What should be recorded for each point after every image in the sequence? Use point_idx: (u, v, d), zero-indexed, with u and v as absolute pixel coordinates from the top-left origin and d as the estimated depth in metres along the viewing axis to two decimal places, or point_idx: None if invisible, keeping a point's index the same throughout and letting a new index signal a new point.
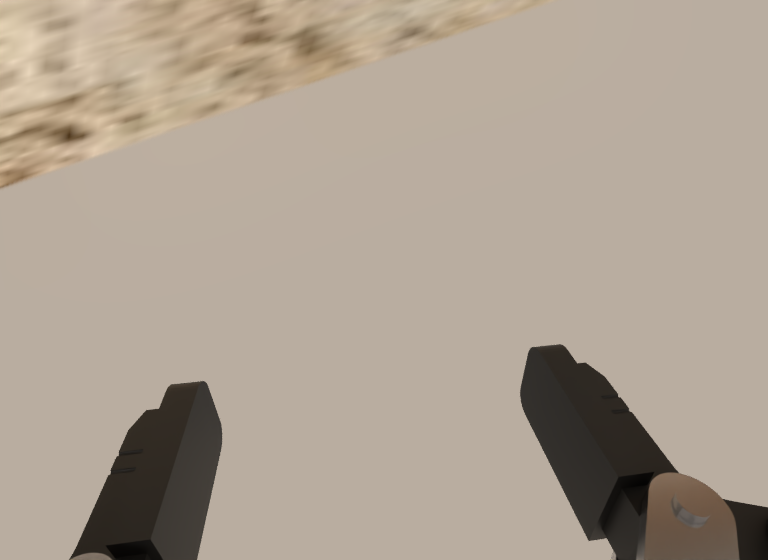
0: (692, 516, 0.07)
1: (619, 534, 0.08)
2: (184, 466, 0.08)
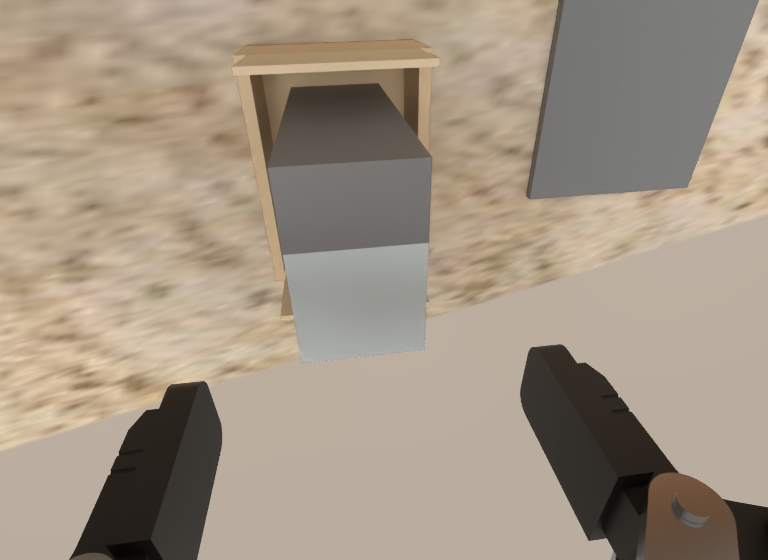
0: (692, 516, 0.07)
1: (619, 534, 0.08)
2: (184, 466, 0.08)
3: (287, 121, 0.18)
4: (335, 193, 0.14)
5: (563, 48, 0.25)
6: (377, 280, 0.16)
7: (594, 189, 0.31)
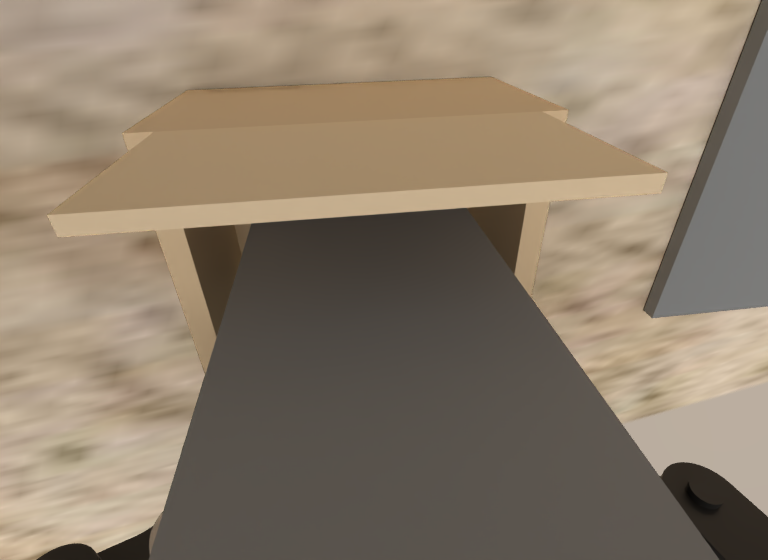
0: None
1: None
2: None
3: (236, 329, 0.07)
4: None
5: (755, 91, 0.14)
6: None
7: (752, 301, 0.19)
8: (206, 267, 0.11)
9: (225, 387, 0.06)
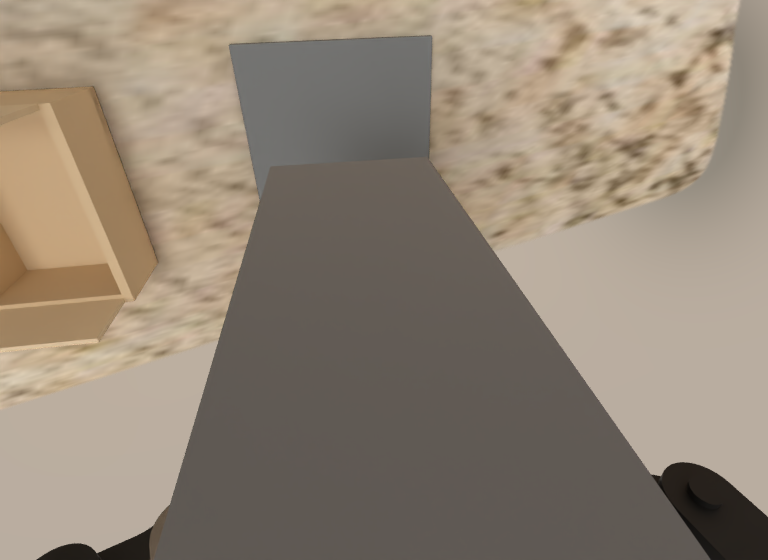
0: None
1: None
2: None
3: (237, 335, 0.07)
4: None
5: (246, 93, 0.26)
6: None
7: None
8: None
9: (227, 393, 0.06)
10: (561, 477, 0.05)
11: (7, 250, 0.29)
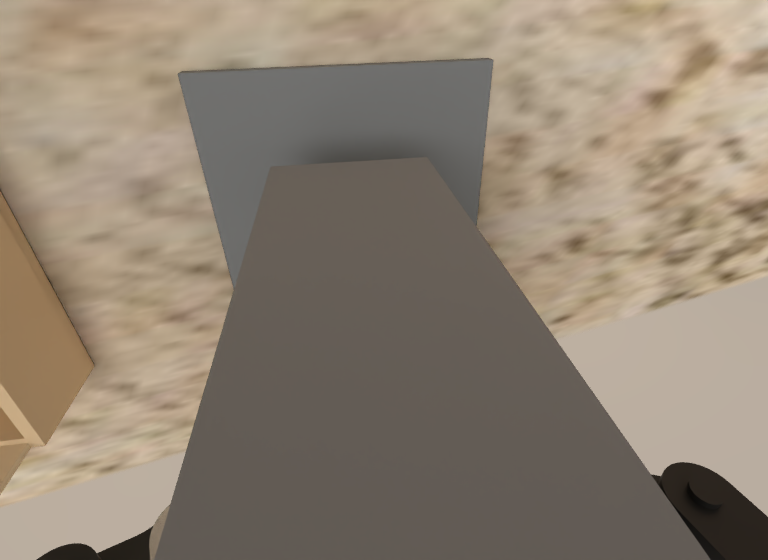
0: None
1: None
2: None
3: (237, 335, 0.07)
4: None
5: (208, 144, 0.17)
6: None
7: None
8: None
9: (227, 393, 0.06)
10: (561, 478, 0.05)
11: None
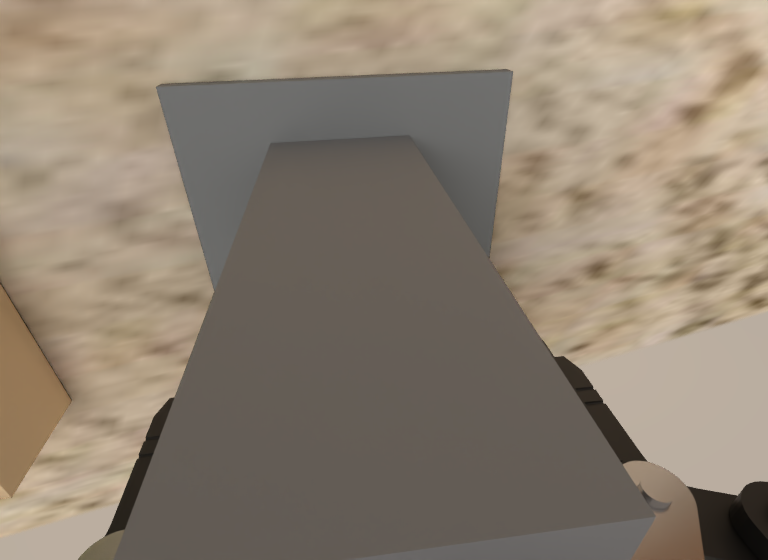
0: (655, 502, 0.07)
1: None
2: None
3: (241, 256, 0.08)
4: None
5: (191, 165, 0.15)
6: None
7: None
8: None
9: (233, 290, 0.07)
10: (472, 334, 0.06)
11: None
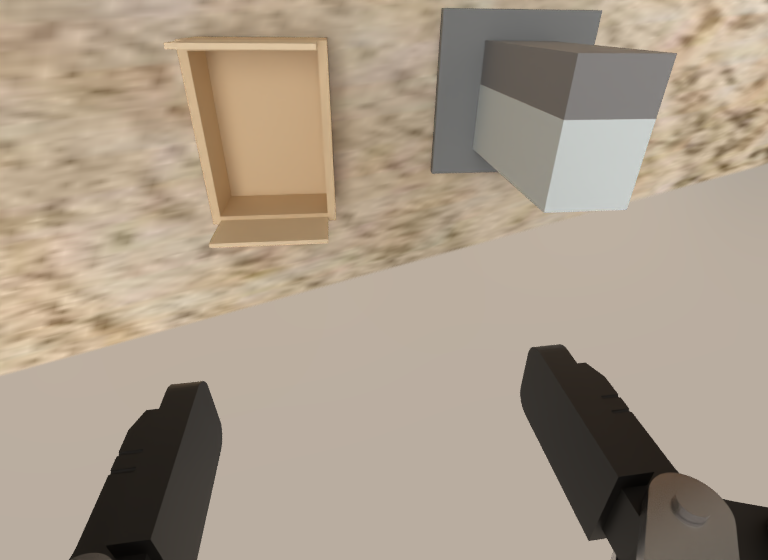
0: (692, 516, 0.07)
1: (619, 534, 0.08)
2: (184, 466, 0.08)
3: (534, 46, 0.25)
4: (611, 75, 0.21)
5: (446, 49, 0.32)
6: (614, 146, 0.23)
7: (486, 167, 0.37)
8: (200, 100, 0.29)
9: (543, 47, 0.24)
10: (624, 49, 0.23)
11: (225, 175, 0.34)
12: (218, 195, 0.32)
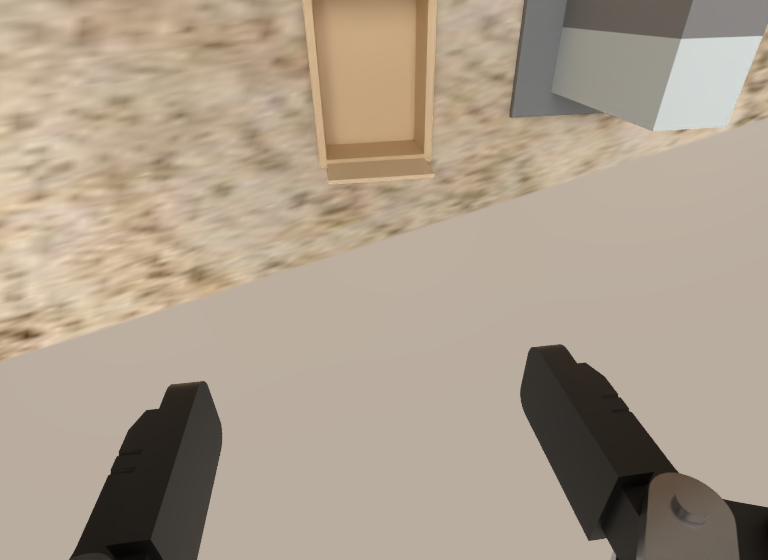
0: (692, 516, 0.07)
1: (619, 534, 0.08)
2: (184, 466, 0.08)
3: None
4: None
5: None
6: (723, 63, 0.25)
7: (562, 110, 0.39)
8: None
9: None
10: None
11: None
12: None
